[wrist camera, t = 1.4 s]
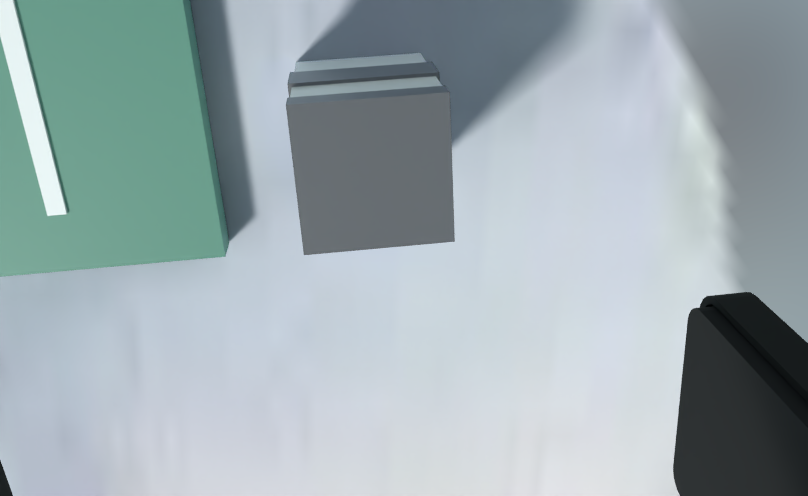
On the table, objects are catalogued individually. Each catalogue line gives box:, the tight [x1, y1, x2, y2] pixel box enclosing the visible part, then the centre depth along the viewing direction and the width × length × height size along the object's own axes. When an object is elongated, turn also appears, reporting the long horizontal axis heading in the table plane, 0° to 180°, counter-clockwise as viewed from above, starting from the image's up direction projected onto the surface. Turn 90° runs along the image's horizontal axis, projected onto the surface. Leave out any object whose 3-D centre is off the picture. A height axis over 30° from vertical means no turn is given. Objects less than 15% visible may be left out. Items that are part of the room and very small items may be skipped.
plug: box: [286, 53, 455, 255], centre depth 23 cm, size 4×4×6 cm
